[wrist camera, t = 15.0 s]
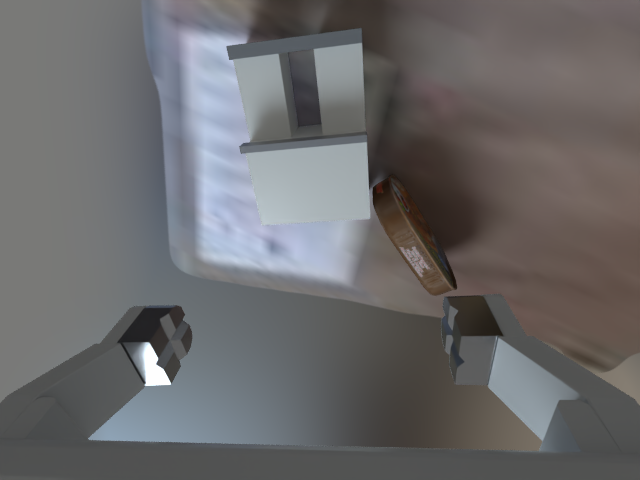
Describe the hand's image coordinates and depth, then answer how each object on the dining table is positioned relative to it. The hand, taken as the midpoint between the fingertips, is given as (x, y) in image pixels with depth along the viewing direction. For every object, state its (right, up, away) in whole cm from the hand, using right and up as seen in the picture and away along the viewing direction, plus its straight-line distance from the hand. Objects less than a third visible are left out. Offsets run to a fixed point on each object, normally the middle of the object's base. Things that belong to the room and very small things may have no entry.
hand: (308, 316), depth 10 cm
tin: (+11, +5, +30) cm, 33 cm away
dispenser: (0, +15, +25) cm, 29 cm away
